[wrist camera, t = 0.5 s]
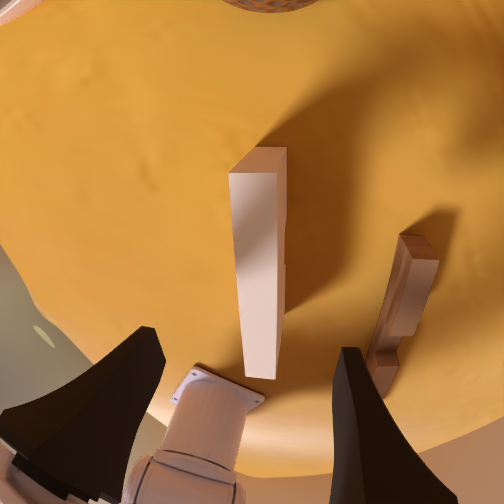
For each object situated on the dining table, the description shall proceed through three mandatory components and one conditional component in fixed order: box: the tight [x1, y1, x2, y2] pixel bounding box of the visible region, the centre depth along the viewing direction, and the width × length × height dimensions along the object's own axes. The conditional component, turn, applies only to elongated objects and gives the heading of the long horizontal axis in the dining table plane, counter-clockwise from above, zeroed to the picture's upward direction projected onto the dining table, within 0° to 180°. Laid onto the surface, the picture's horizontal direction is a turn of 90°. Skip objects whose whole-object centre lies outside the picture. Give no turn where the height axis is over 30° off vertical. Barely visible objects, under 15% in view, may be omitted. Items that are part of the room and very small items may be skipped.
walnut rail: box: [365, 234, 440, 399], centre depth 20 cm, size 20×2×3 cm, turn 2°
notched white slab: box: [229, 147, 287, 379], centre depth 16 cm, size 12×2×6 cm, turn 2°
